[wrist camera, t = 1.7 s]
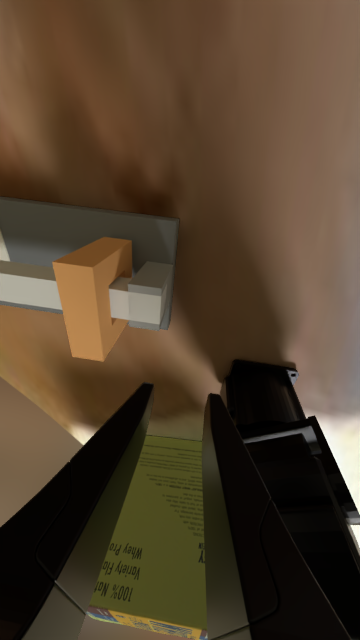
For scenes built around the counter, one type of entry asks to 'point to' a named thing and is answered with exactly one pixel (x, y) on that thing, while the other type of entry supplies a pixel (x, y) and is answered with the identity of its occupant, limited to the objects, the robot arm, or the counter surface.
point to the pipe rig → (74, 233)
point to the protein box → (158, 546)
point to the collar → (92, 295)
